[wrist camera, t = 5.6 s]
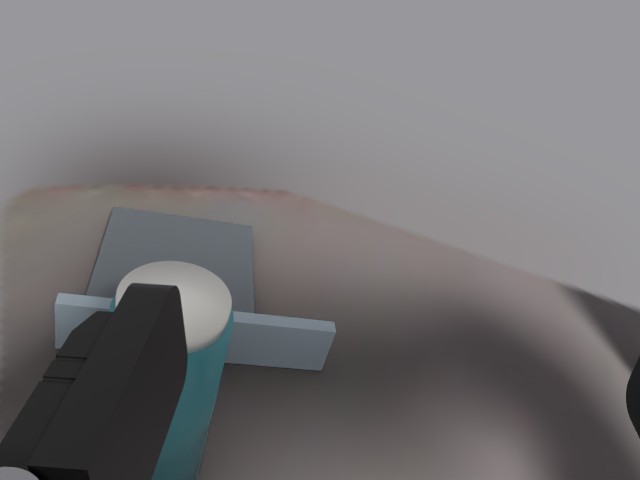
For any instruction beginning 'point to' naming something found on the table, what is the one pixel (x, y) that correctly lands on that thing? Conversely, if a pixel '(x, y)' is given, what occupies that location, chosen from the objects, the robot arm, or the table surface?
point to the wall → (246, 337)
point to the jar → (191, 359)
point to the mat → (175, 251)
